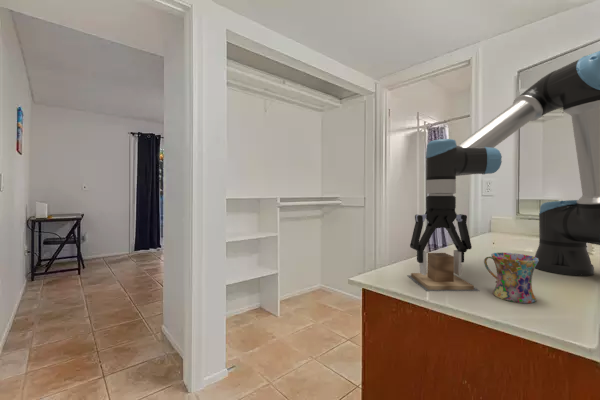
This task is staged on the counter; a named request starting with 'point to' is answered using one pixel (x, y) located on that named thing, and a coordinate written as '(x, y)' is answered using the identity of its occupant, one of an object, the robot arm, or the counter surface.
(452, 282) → the lid
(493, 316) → the counter surface
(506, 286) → the mug
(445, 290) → the mat
